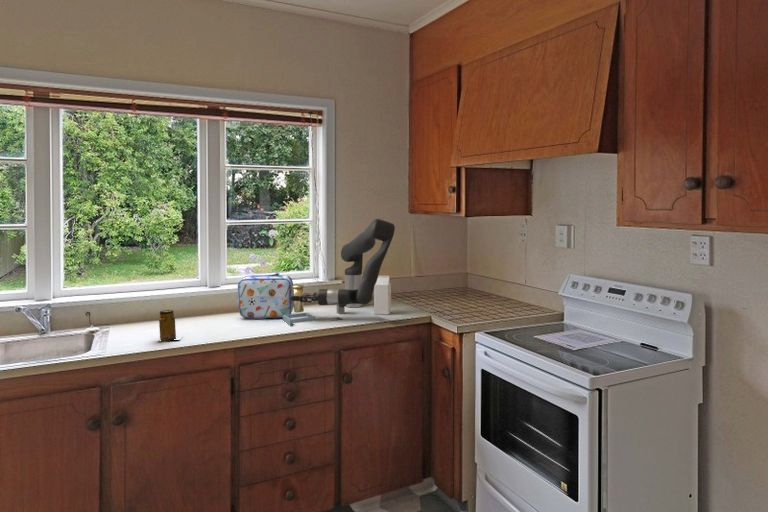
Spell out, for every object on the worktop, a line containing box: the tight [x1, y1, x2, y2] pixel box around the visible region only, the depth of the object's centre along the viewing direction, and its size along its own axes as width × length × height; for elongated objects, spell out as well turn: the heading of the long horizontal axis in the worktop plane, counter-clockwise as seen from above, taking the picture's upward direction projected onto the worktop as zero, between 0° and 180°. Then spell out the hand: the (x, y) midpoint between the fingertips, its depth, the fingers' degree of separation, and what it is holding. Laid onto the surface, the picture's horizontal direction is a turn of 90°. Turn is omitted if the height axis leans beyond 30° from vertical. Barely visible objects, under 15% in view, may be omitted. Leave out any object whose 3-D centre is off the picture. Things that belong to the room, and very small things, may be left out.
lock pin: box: [292, 284, 305, 313], centre depth 243 cm, size 5×5×12 cm
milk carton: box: [373, 275, 392, 315], centre depth 261 cm, size 7×7×19 cm
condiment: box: [157, 309, 177, 343], centre depth 214 cm, size 7×8×12 cm
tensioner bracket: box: [327, 304, 347, 322], centre depth 248 cm, size 18×14×11 cm
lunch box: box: [237, 272, 295, 320], centre depth 255 cm, size 28×10×22 cm, turn 94°
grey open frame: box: [282, 312, 316, 327], centre depth 244 cm, size 12×12×3 cm
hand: (292, 297), depth 243 cm, fingers closed on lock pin, 4 cm apart
